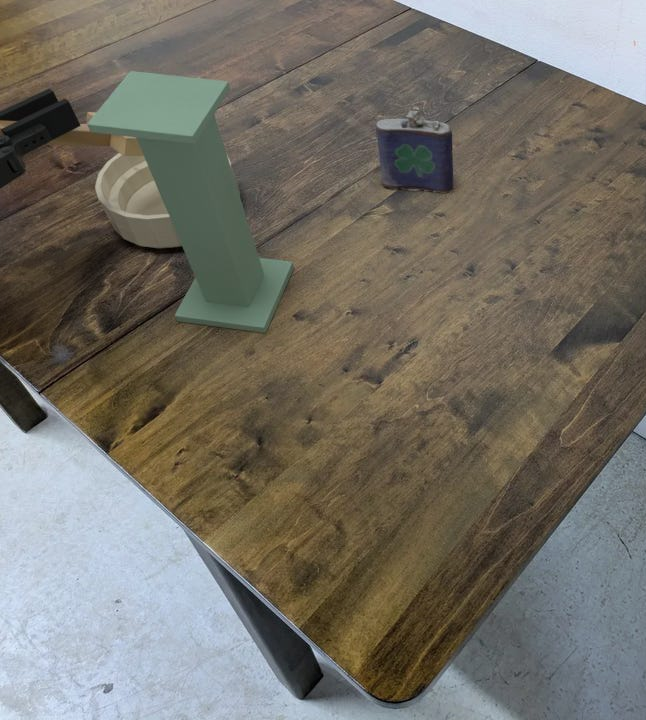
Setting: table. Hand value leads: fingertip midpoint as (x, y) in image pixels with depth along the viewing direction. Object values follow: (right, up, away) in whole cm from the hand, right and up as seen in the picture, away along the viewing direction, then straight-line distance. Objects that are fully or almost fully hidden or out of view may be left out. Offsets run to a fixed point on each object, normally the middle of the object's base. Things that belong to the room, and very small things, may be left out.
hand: (64, 107), depth 71 cm
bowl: (+4, -7, +18) cm, 19 cm away
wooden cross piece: (0, -3, +3) cm, 4 cm away
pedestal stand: (+14, -18, +10) cm, 24 cm away
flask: (+33, -3, +22) cm, 40 cm away
